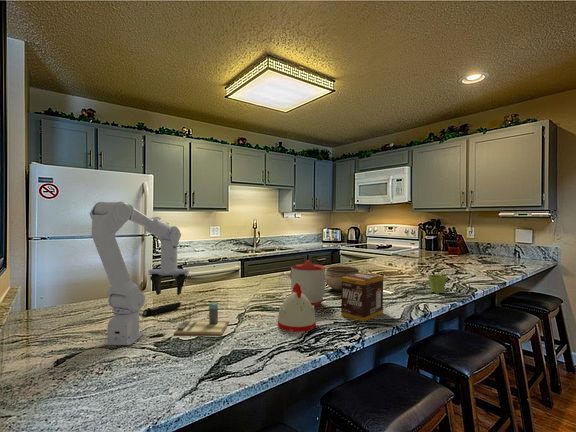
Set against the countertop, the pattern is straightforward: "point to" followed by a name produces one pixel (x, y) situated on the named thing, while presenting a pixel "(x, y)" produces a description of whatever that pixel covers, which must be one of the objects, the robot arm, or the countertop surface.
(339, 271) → the cooking pot
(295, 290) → the kitchen timer
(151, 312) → the electric trimmer
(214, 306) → the marker
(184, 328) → the clipboard
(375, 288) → the supplement box
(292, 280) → the citrus juicer
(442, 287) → the plant pot
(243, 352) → the countertop surface
